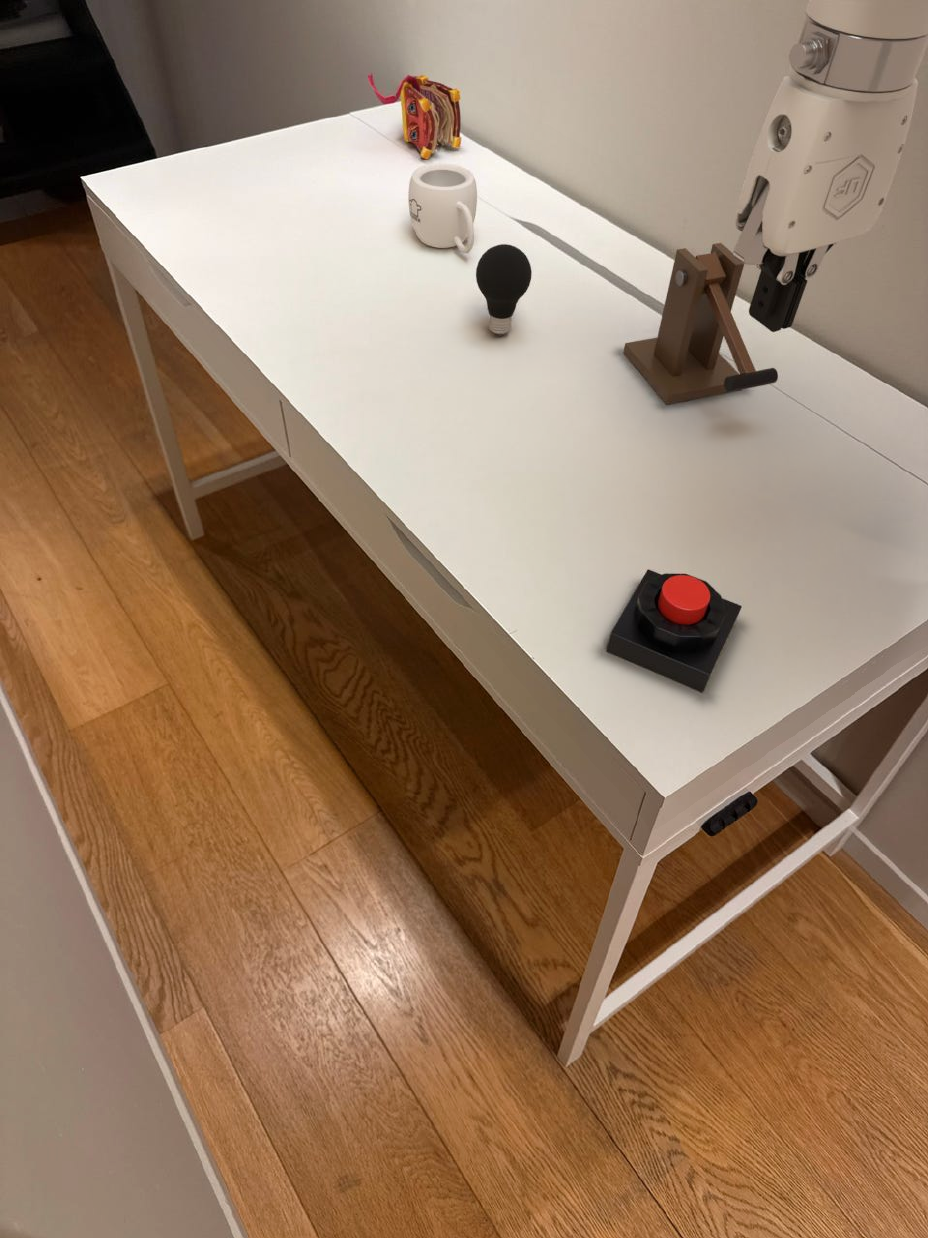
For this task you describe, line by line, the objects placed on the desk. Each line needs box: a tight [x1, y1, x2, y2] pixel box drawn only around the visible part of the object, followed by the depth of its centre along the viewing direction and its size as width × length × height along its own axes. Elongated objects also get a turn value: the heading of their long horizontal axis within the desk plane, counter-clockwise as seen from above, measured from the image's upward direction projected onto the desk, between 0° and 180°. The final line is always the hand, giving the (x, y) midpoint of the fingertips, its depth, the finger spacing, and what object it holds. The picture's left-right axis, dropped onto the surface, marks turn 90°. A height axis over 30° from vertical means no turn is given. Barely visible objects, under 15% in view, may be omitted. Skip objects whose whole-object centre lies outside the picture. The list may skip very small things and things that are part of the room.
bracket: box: [623, 242, 745, 405], centre depth 90 cm, size 10×9×13 cm
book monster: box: [367, 72, 462, 160], centre depth 127 cm, size 11×9×12 cm
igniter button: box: [658, 575, 710, 625], centre depth 67 cm, size 4×4×2 cm
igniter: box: [605, 568, 743, 693], centre depth 69 cm, size 8×8×4 cm
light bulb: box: [475, 243, 533, 337], centre depth 95 cm, size 6×6×10 cm
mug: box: [407, 162, 478, 254], centre depth 109 cm, size 12×8×8 cm
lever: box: [694, 252, 779, 393], centre depth 85 cm, size 14×5×2 cm, turn 20°
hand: (769, 320), depth 69 cm, fingers closed
